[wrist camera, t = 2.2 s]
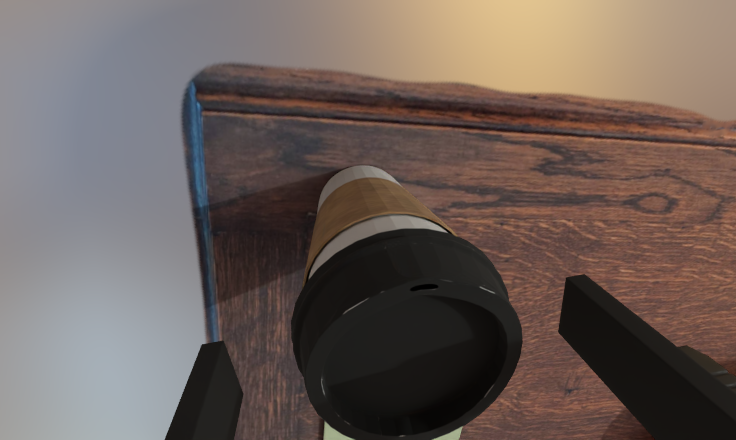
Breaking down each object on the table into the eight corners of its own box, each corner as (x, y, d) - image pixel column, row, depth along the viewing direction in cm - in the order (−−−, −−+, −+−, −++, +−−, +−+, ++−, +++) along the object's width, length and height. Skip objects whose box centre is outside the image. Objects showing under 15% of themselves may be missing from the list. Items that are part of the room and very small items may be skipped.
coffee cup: (421, 141, 24) (567, 254, 10) (417, 252, 27) (522, 444, 14) (293, 149, 23) (267, 285, 9) (306, 263, 26) (301, 482, 13)
